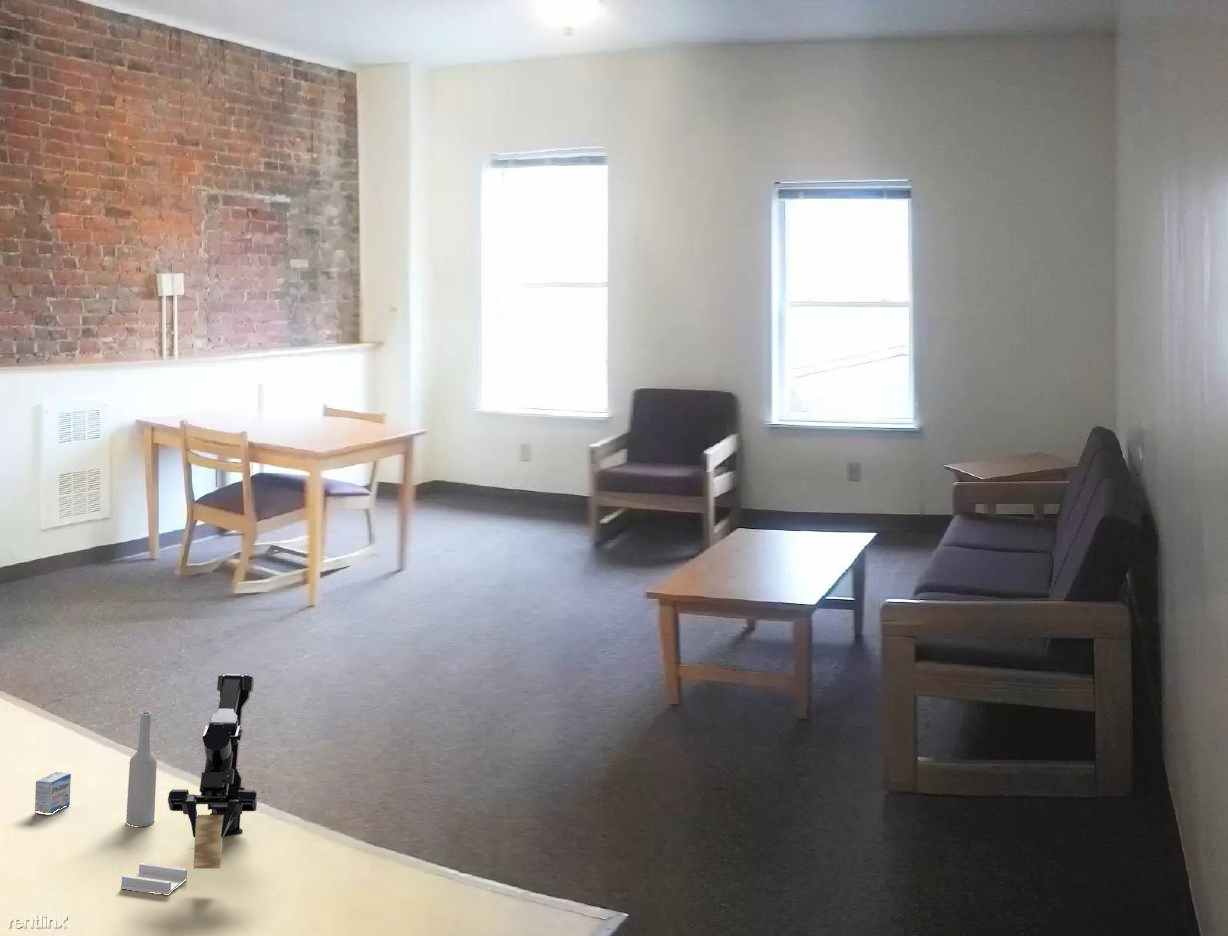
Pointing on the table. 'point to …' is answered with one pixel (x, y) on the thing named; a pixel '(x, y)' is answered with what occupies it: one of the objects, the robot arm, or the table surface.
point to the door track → (154, 878)
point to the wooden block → (208, 841)
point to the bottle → (142, 779)
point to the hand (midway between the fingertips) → (208, 837)
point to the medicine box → (52, 792)
